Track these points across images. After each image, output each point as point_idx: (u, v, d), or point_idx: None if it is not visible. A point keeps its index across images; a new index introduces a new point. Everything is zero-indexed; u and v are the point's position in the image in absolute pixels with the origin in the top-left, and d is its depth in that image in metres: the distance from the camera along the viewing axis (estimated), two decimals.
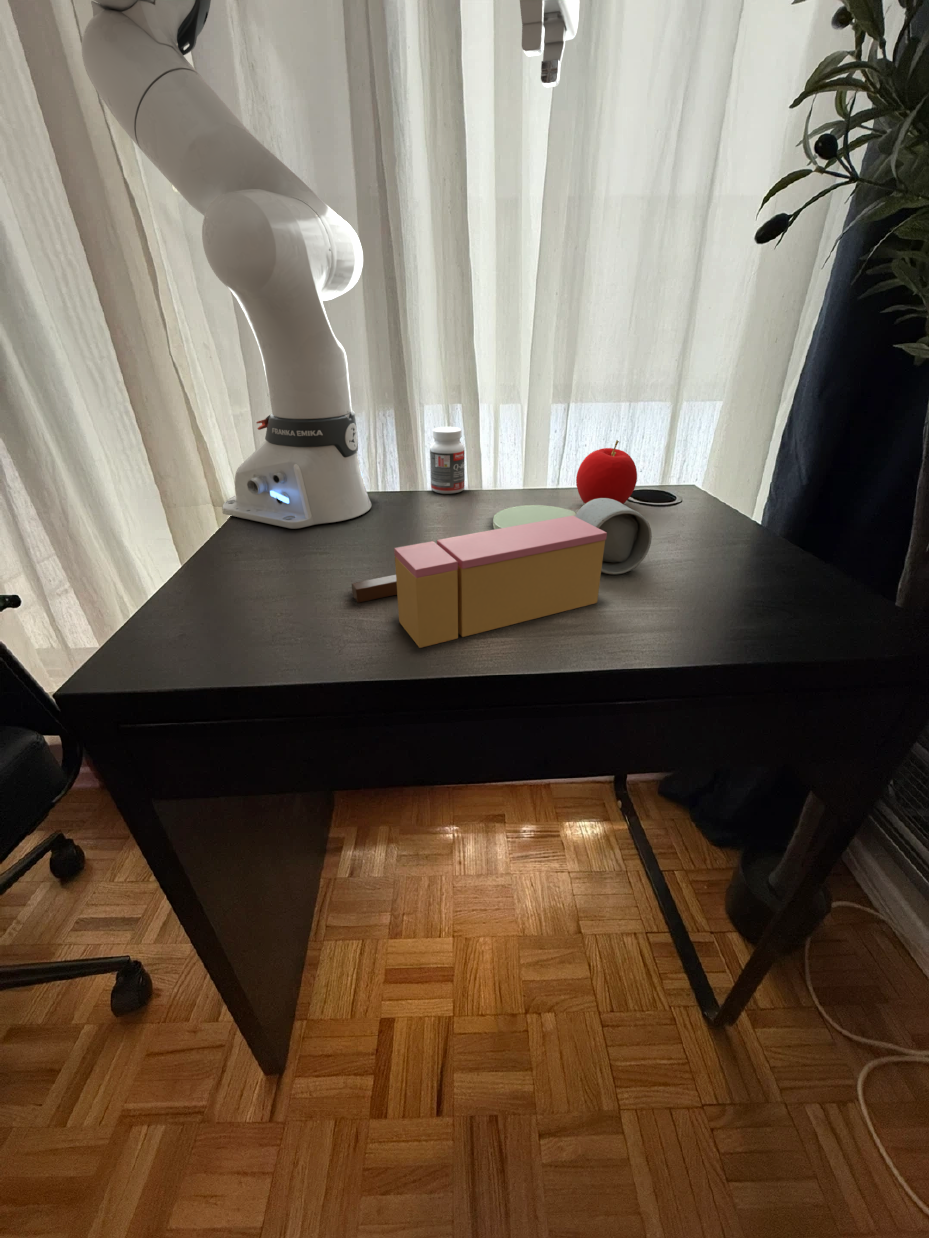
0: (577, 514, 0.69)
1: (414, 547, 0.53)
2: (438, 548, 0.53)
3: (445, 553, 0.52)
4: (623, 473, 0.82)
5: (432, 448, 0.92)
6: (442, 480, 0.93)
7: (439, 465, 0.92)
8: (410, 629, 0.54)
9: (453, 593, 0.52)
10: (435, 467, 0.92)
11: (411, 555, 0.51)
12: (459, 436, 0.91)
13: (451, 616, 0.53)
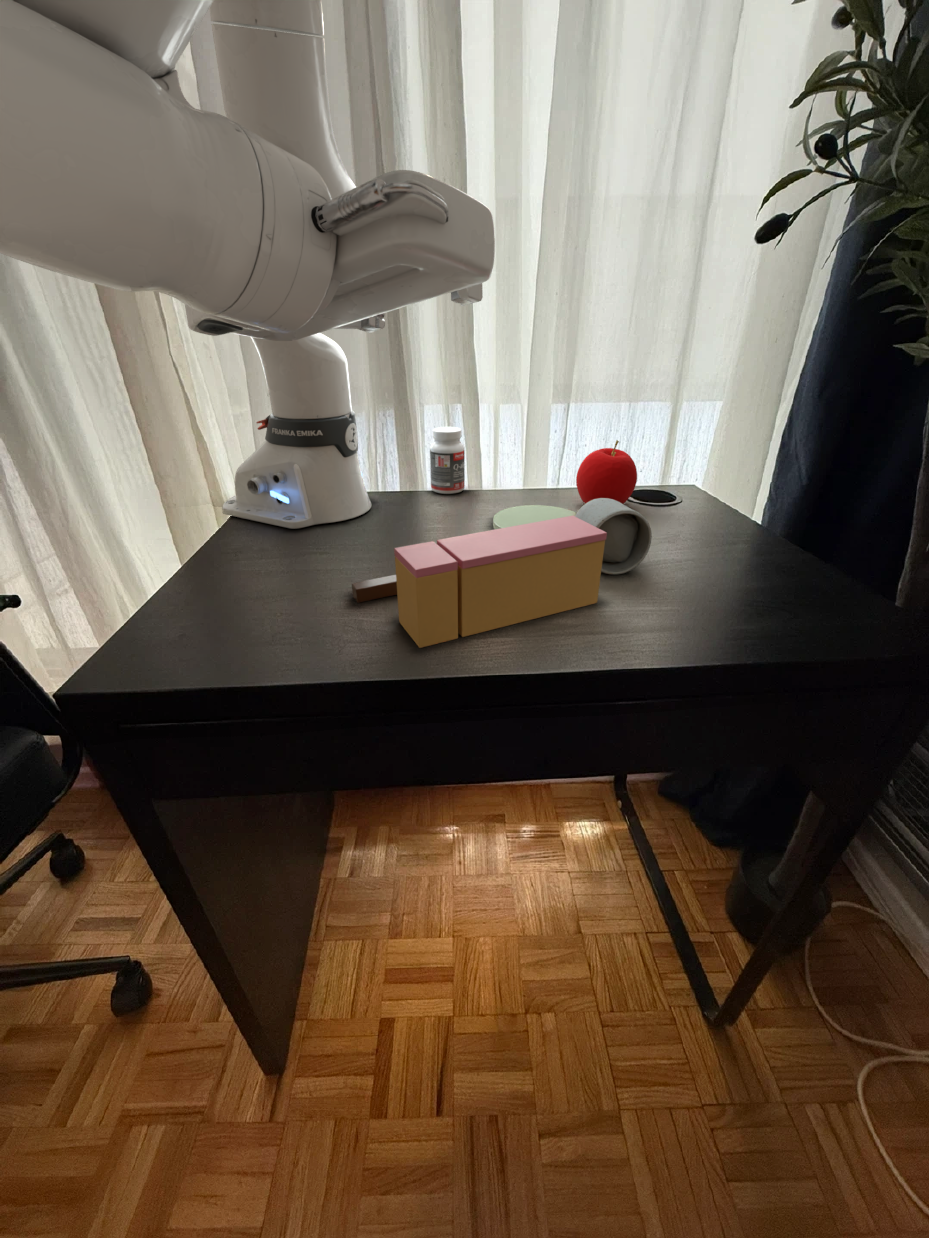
0: (577, 514, 0.69)
1: (414, 547, 0.53)
2: (438, 548, 0.53)
3: (445, 553, 0.52)
4: (623, 473, 0.82)
5: (432, 448, 0.92)
6: (442, 480, 0.93)
7: (439, 465, 0.92)
8: (410, 629, 0.54)
9: (453, 593, 0.52)
10: (435, 467, 0.92)
11: (411, 555, 0.51)
12: (459, 436, 0.91)
13: (451, 616, 0.53)
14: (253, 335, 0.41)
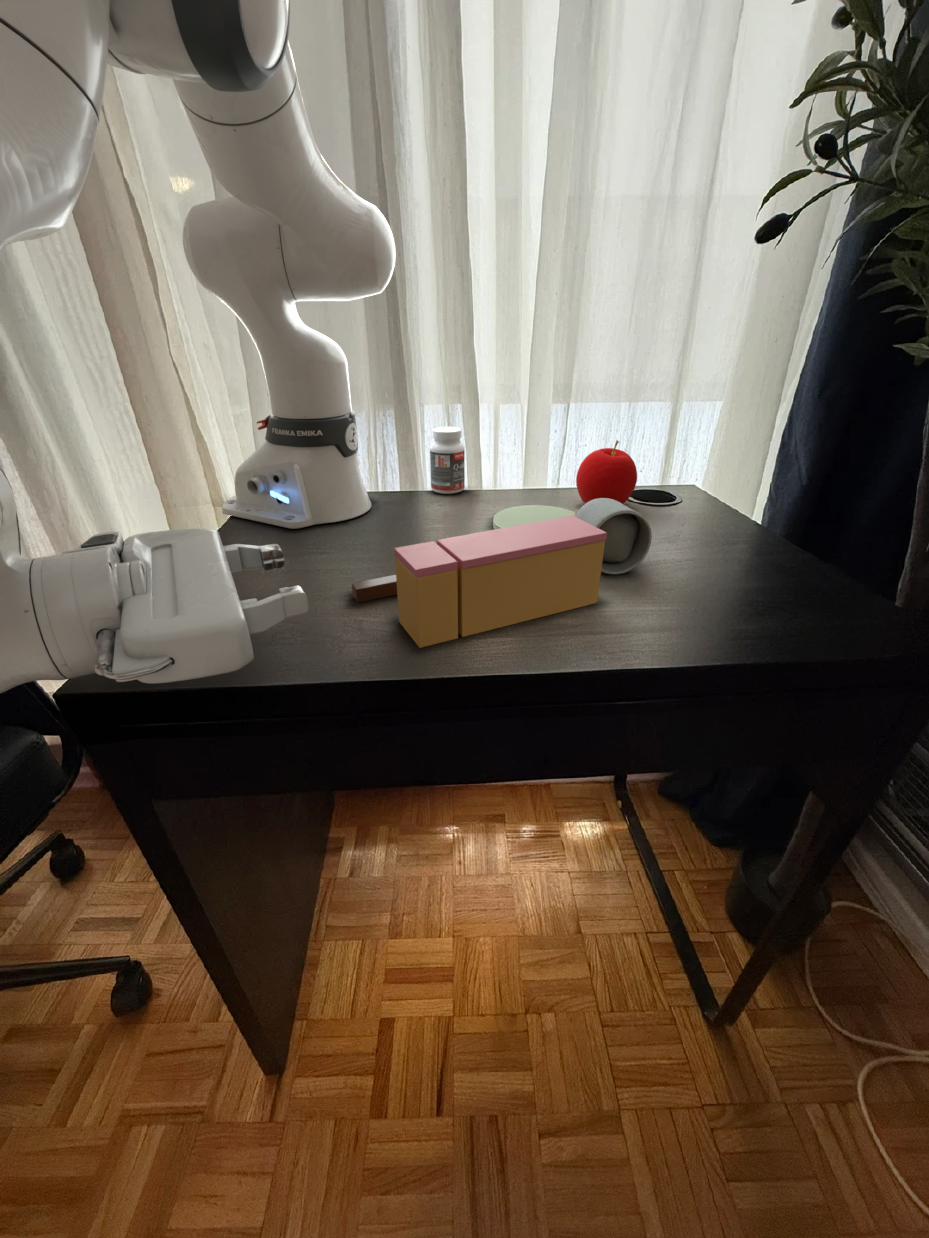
0: (577, 514, 0.69)
1: (414, 547, 0.53)
2: (438, 548, 0.53)
3: (445, 553, 0.52)
4: (623, 473, 0.82)
5: (432, 448, 0.92)
6: (442, 480, 0.93)
7: (439, 465, 0.92)
8: (410, 629, 0.54)
9: (453, 593, 0.52)
10: (435, 467, 0.92)
11: (411, 555, 0.51)
12: (459, 436, 0.91)
13: (451, 616, 0.53)
14: None
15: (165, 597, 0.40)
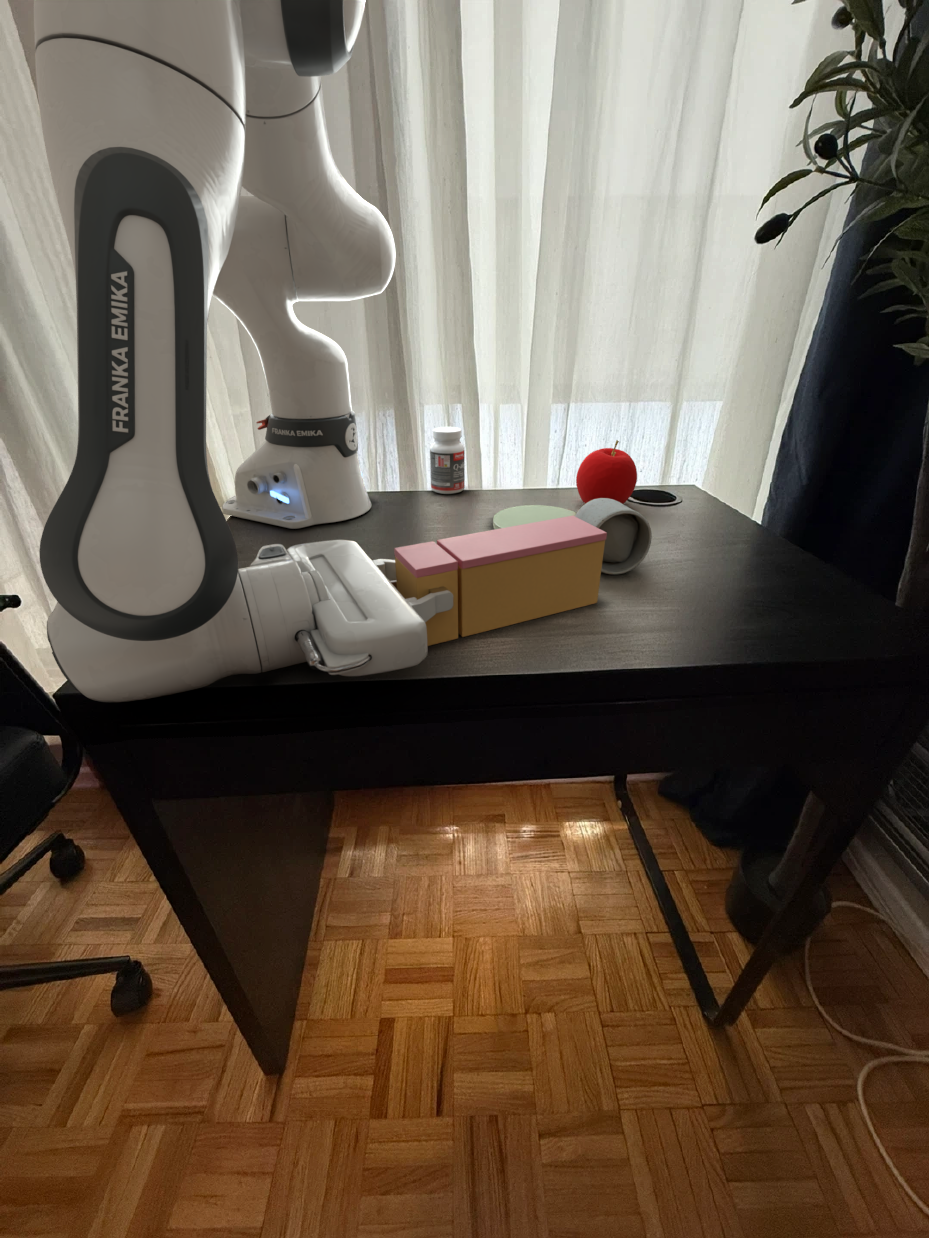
0: (577, 514, 0.69)
1: (414, 547, 0.53)
2: (438, 548, 0.53)
3: (445, 553, 0.52)
4: (623, 473, 0.82)
5: (432, 448, 0.92)
6: (442, 480, 0.93)
7: (439, 465, 0.92)
8: None
9: (453, 593, 0.52)
10: (435, 467, 0.92)
11: (411, 555, 0.51)
12: (459, 436, 0.91)
13: (451, 616, 0.53)
14: None
15: (345, 602, 0.47)
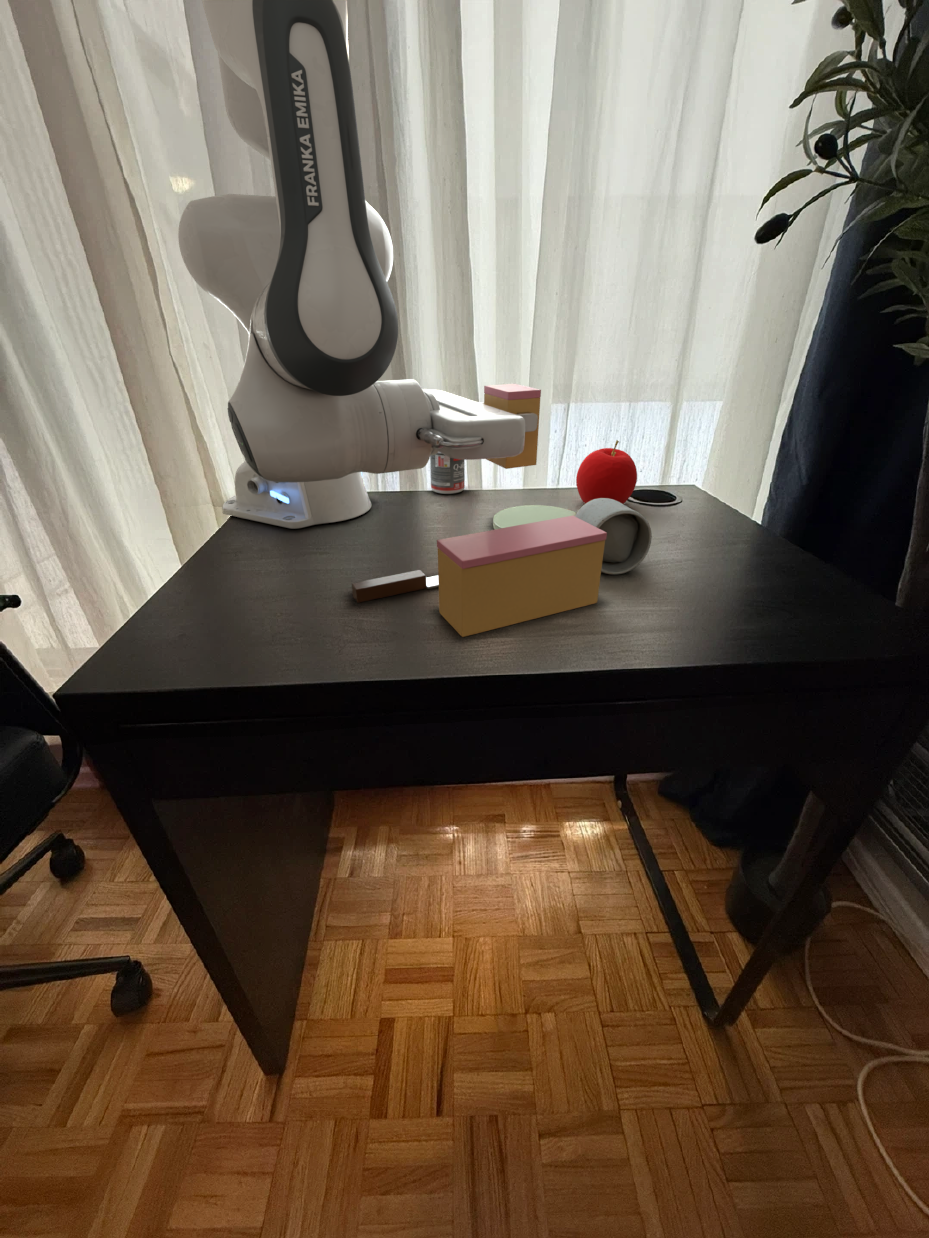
0: (577, 514, 0.69)
1: (500, 385, 0.63)
2: (521, 385, 0.63)
3: (528, 387, 0.62)
4: (623, 473, 0.82)
5: None
6: (442, 480, 0.93)
7: (439, 465, 0.92)
8: None
9: None
10: (435, 467, 0.92)
11: (500, 387, 0.62)
12: None
13: (532, 442, 0.63)
14: None
15: (453, 412, 0.57)
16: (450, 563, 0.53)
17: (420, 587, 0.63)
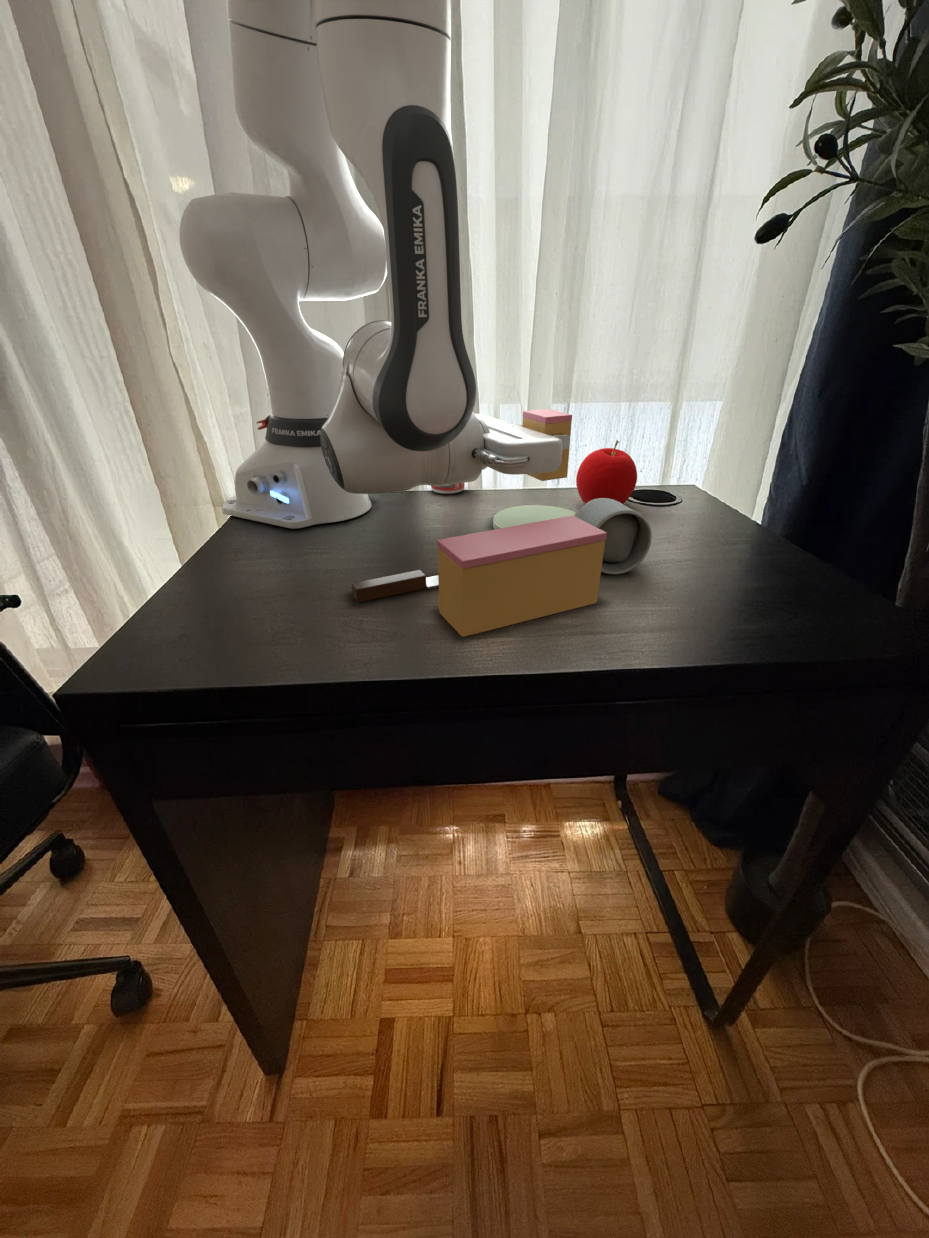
0: (577, 514, 0.69)
1: (536, 410, 0.75)
2: (555, 411, 0.74)
3: (561, 412, 0.73)
4: (623, 473, 0.82)
5: None
6: None
7: None
8: None
9: None
10: None
11: (537, 413, 0.73)
12: None
13: (564, 458, 0.74)
14: None
15: (501, 435, 0.68)
16: (450, 563, 0.53)
17: (420, 587, 0.63)
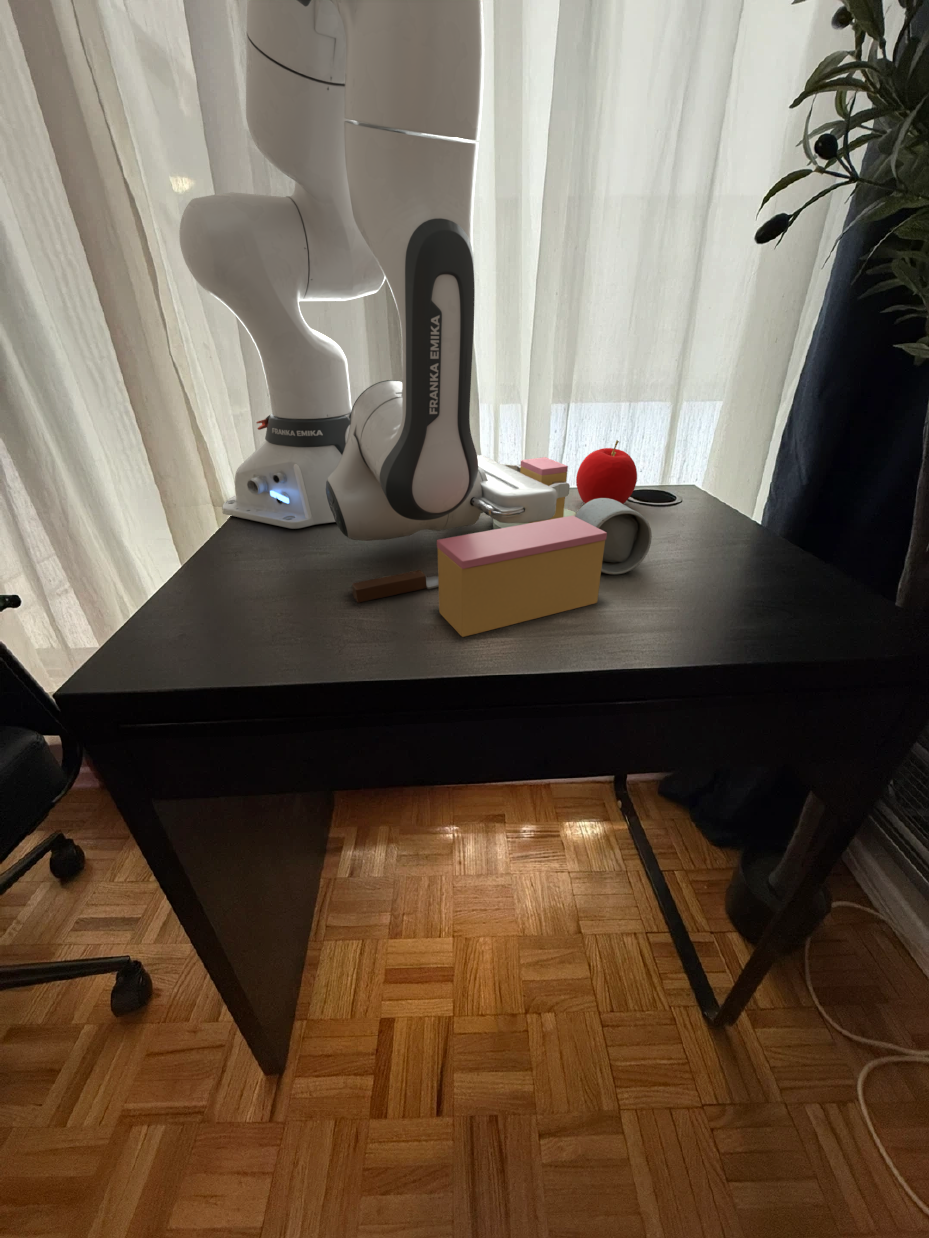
0: (577, 514, 0.69)
1: (534, 459, 0.78)
2: (551, 460, 0.78)
3: (557, 462, 0.77)
4: (623, 473, 0.82)
5: None
6: None
7: None
8: None
9: None
10: None
11: (535, 463, 0.76)
12: None
13: (560, 506, 0.77)
14: None
15: (498, 482, 0.71)
16: (450, 563, 0.53)
17: (420, 587, 0.63)
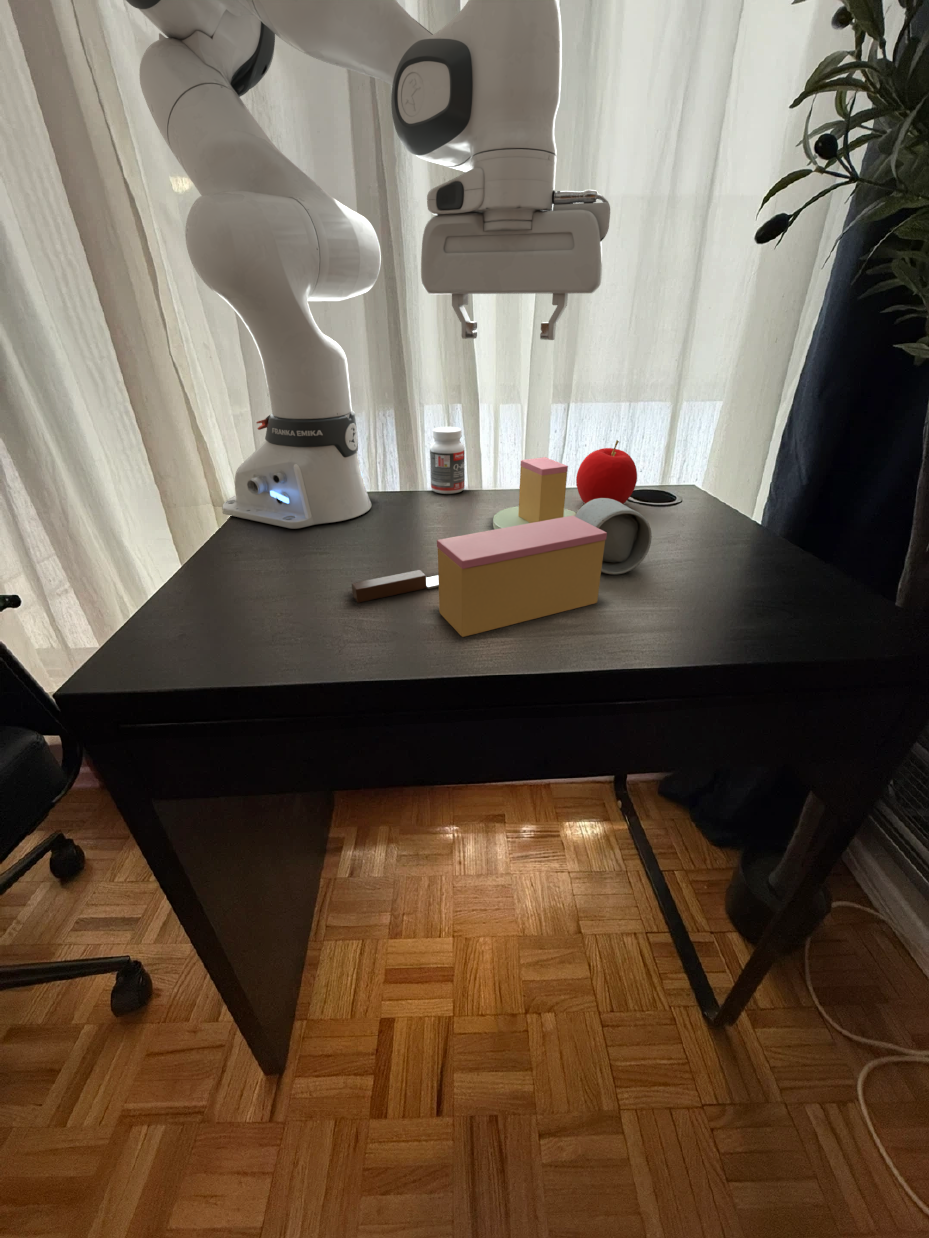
0: (577, 514, 0.69)
1: (534, 459, 0.78)
2: (551, 460, 0.78)
3: (557, 462, 0.77)
4: (623, 473, 0.82)
5: (432, 448, 0.92)
6: (442, 480, 0.93)
7: (439, 465, 0.92)
8: (530, 517, 0.79)
9: (563, 489, 0.76)
10: (435, 467, 0.92)
11: (535, 463, 0.76)
12: (459, 436, 0.91)
13: (560, 506, 0.77)
14: (428, 250, 0.63)
15: None
16: (450, 563, 0.53)
17: (420, 587, 0.63)
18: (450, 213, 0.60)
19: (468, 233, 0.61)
